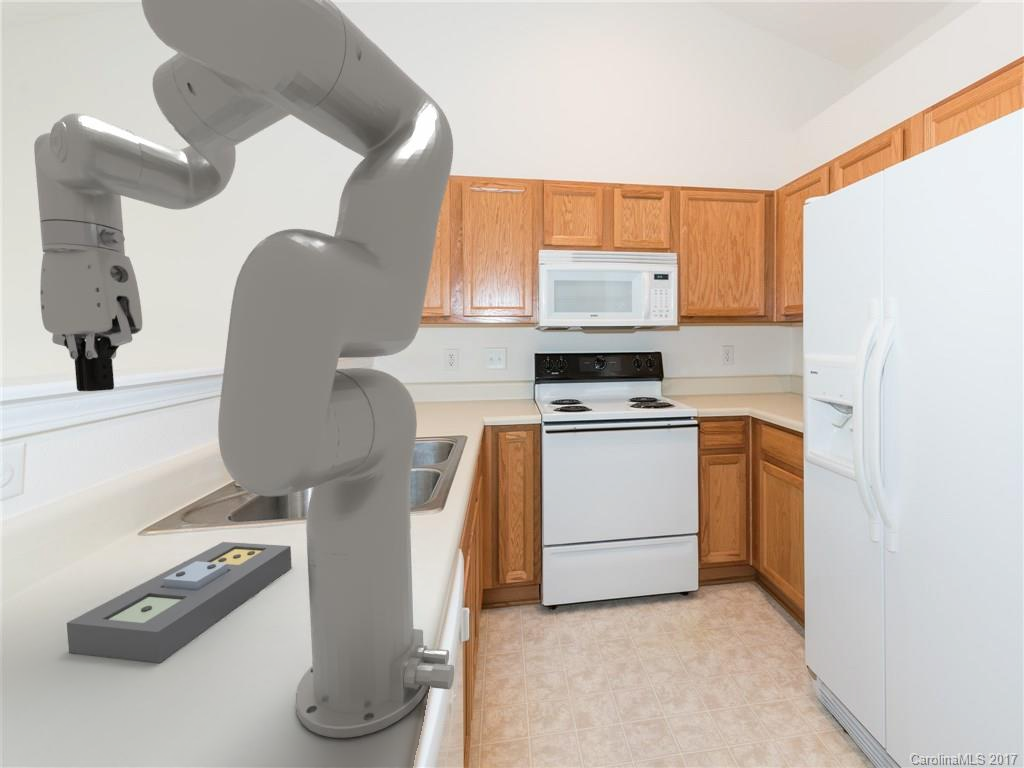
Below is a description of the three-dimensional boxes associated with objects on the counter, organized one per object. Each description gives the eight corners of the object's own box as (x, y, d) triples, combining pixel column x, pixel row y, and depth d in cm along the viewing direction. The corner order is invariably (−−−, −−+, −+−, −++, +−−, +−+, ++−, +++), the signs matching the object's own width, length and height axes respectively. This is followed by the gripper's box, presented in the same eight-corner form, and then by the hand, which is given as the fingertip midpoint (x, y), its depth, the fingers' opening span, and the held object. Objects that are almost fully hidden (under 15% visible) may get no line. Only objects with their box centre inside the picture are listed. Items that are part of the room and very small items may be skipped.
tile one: (184, 615, 56) (183, 598, 55) (145, 640, 51) (143, 622, 50) (149, 612, 56) (148, 595, 56) (108, 637, 51) (106, 618, 51)
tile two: (228, 577, 62) (227, 562, 62) (197, 596, 57) (196, 580, 57) (197, 575, 63) (196, 559, 63) (164, 593, 58) (162, 577, 58)
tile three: (264, 563, 69) (263, 549, 69) (239, 579, 64) (238, 564, 64) (235, 561, 70) (235, 547, 70) (209, 577, 65) (208, 562, 65)
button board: (291, 567, 70) (290, 545, 70) (160, 663, 49) (157, 632, 48) (224, 563, 72) (222, 541, 72) (69, 652, 51) (66, 622, 50)
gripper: (164, 247, 59) (173, 388, 60) (69, 253, 61) (80, 388, 62) (102, 232, 51) (114, 392, 52) (-2, 240, 54) (12, 393, 55)
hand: (96, 390), depth 57 cm, fingers closed
